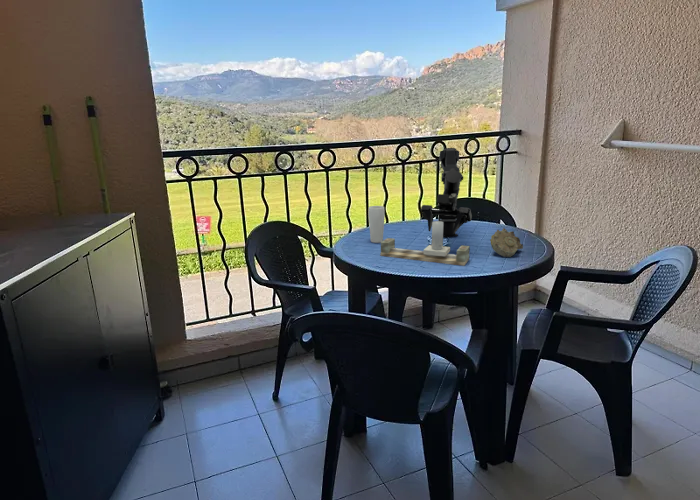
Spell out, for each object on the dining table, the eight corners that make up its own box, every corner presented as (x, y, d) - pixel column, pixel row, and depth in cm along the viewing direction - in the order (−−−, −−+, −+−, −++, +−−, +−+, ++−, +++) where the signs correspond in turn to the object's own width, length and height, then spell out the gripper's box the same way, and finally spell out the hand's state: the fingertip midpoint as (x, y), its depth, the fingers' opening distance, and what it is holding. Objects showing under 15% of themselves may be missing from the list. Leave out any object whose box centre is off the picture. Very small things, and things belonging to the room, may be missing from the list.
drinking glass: (383, 244, 183) (383, 208, 179) (367, 243, 185) (367, 208, 180) (385, 239, 190) (385, 205, 185) (370, 239, 191) (369, 205, 187)
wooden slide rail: (380, 255, 168) (380, 242, 166) (388, 250, 175) (388, 236, 173) (464, 265, 154) (465, 250, 152) (469, 259, 161) (469, 245, 159)
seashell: (486, 259, 165) (487, 234, 161) (494, 245, 176) (496, 222, 172) (517, 264, 159) (519, 238, 155) (523, 249, 171) (526, 225, 167)
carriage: (423, 254, 160) (424, 223, 157) (429, 248, 166) (429, 219, 163) (445, 256, 157) (446, 225, 154) (450, 251, 163) (451, 221, 159)
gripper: (422, 184, 168) (412, 218, 162) (471, 186, 159) (463, 222, 153) (428, 200, 177) (418, 233, 171) (475, 203, 168) (467, 238, 162)
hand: (441, 232), depth 164 cm, fingers open, 9 cm apart
